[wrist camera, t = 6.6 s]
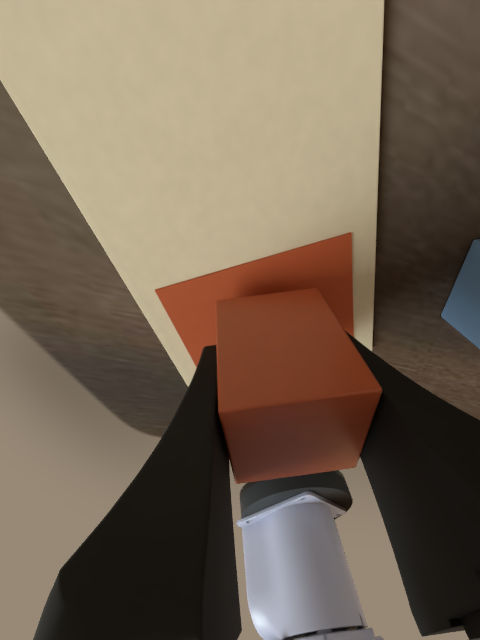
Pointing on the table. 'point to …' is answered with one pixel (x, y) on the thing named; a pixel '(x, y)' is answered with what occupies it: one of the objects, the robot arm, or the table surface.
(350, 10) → the sorting mat
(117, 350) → the table surface
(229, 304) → the terracotta block
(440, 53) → the table surface
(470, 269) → the slate block
